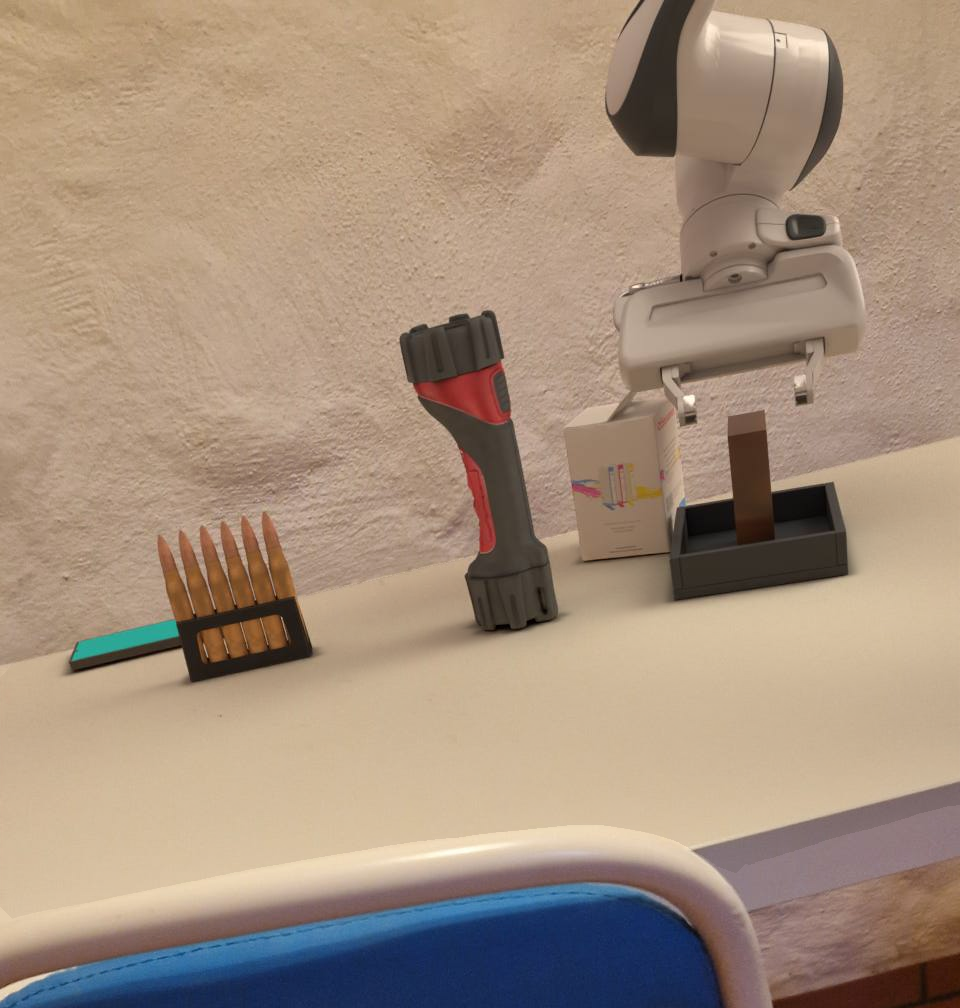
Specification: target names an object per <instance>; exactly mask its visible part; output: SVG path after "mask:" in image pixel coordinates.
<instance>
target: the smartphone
mask: <svg viewBox="0 0 960 1008" xmlns="http://www.w3.org/2000/svg"><path fill="white" fill-rule="evenodd" d="M220 630H221V633H222V636H223V632H222V629H221V627H220ZM199 633H200V636H201V639H202V641H203V638H202V635H201V631H200V632H199ZM178 646H182V645H181V641H180V637H179V633H178V630H177V626H176V621H175V618H173V619H169V620H164V621H161V622H156V623H152V624H147V625H143V626H139V627H135V628H130V629H126V630H121V631H118V632H113V633H109V634H104V635H101V636H96V637H91V638H88V639H84V640H79V641H77V642H76V643H75V644H74V648H73V650H72V652H71V655H70V658H69V660H68V664H69V667H70V669H71V671H75V670H80V669H83V668H89V667H93V666H96V665H101V664H105V663H109V662H113V661H119V660H123V659H126V658H131V657H135V656H141V655H144V654H148V653H152V652H158V651H162V650H166V649H170V648H174V647H178Z"/></svg>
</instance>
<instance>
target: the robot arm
mask: <svg viewBox="0 0 960 1008" xmlns="http://www.w3.org/2000/svg"><path fill="white" fill-rule="evenodd" d="M717 2H718V0H638V2H637V4H636V5H635V7H634V9H633V10H632V11H631V13H630V14H629V16H628V18H627V19H626V21H625V22H624V25H622V26H623V27H622V29H621V31H620V33H619V35H618V38H617V40H616V42H615V45H614V48H613V51H612V54H611V57H610V60H609V63H608V67H607V76H606V84H605V94H604V105H605V106H604V108H605V112H606V115H607V117H608V120H609V121H610V124H611V125H612V127H613V129H614V130H615V132H616V133H617V135H618V137H619V138H621V141H622V142H623V143H624V144H625V145H626V146H627V148H628V149H629V150H630V151H631V152H632V153H633V154H634V155H635V156H636V157H651V158H652V157H653V158H655V157H656V158H675V159H674V161H675V163H674V166H675V167H674V171H675V172H674V175H675V177H674V178H675V179H674V180H675V197H676V205H677V209H678V211H679V214H680V216H681V218H682V219H681V220H682V222H681V226H680V231H679V240H678V242H679V252H680V254H679V256H680V269H681V273H680V274H677V275H676V274H675V275H671V276H667V277H663V278H659V279H656V280H653V281H650V282H637V283H634V284H632V285H629V287H628V290H626V291H624V292H621V294H619V296H618V297H617V298H616V299H615V300H614V302H613V307H612V314H613V315H612V316H613V326H614V328H615V330H616V331H617V332H618V344H617V345H618V346H617V347H618V348H617V351H618V352H617V357H618V367H619V373H620V376H621V381H622V384H623V386H625V387H626V388H627V389H628V390H629V391H632V392H637V393H641V392H642V393H643V392H646V391H651V390H652V391H653V390H659V389H662V388H663V391H664V396H666V398H667V399H668V400H669V401H670V402H671V403H672V405H673V406H674V407H675V410H676V411H677V416H678V422H679V427H680V428H683V427H687V426H693V425H697V424H698V412H697V411H698V409H697V402H696V395H695V394H688V395H685V394H684V392H683V391H682V385H685V384H691V383H695V382H701V381H706V380H711V379H717V378H724V377H727V376H733V375H738V374H744V373H750V372H754V371H759V370H765V369H772V368H775V367H782V366H787V365H794V364H799V363H805V364H806V365H805V366H806V368H805V369H804V372H803V373H802V374H798V375H794V376H793V393H794V405H795V407H801V406H806V405H811V404H812V405H813V404H814V402H815V401H814V386H815V384H816V382H817V381H818V379H819V377H820V375H821V373H822V371H823V370H824V368H825V359H826V358H831V357H836V356H837V357H838V356H841V355H848V354H853V353H855V352H857V351H858V350H859V349H860V348H861V346H862V345H863V343H864V342H865V340H866V338H867V309H866V302H865V295H864V291H863V287H862V282H861V278H860V275H859V271H858V267H857V265H856V262H855V260H854V257H853V256H852V255H851V254H850V252H848V250H847V249H845V248H844V246H843V245H844V243H843V235H842V228H841V223H840V219H839V218H838V216H835V215H833V214H827V213H812V212H800V211H792V210H786V209H782V200H783V198H784V195H785V193H786V192H791V191H792V190H794V189H795V188H796V187H797V186H799V185H800V184H801V183H802V182H803V181H804V180H805V178H806V177H807V176H808V175H809V174H810V173H811V172H812V171H813V170H814V169H815V168H816V166H817V165H818V164H819V163H820V162H821V161H822V160H823V158H824V157H825V155H826V154H827V153H828V151H829V149H830V148H831V146H832V144H833V142H834V140H835V137H836V135H837V132H838V131H839V127H840V123H841V118H842V113H843V107H844V106H843V105H844V76H843V69H842V66H841V61H840V58H839V53H838V51H837V47H836V46H835V44H834V42H833V40H832V38H831V37H830V36H829V34H828V33H827V31H826V30H825V29H823V28H817V27H813V26H810V25H806V24H800V23H796V22H790V21H784V20H777V19H771V18H759V17H753V16H747V15H741V14H736V13H729V12H724V11H718V10H714V8H715V6H716V4H717Z"/></svg>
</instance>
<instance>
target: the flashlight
mask: <svg viewBox="0 0 960 1008" xmlns="http://www.w3.org/2000/svg"><path fill="white" fill-rule="evenodd" d="M398 341H399V346H400V352H401V356H402V361H403V366H404V370H405V374H406V380H407V382H408V383H410V384H412V387H413V389H414V392H415V393H416V394H417V400H418V402H419V403H420V404H421V407H423V409H424V410H425V411H426V412H427V413H428V414H429V415H430V416H431V417H432V418H433V419H434V420H436V421H437V422H438V423H439V424H440V425H442V426H443V427H444V428H445V429H446V430H447V431H448V433H449V434H450V435H451V437H452V438H453V440H454V441H455V443H456V445H457V448H458V450H459V454H460V456H461V462H462V463H463V466H464V469H465V473H466V482H467V487H468V488H469V490H470V491H471V494H472V497H473V503H472V507H473V509H474V511H475V513H476V516H477V518H478V520H479V521H478V526H479V533H478V534H479V537H478V541H479V547H478V553H477V555H476V557H475V558H474V559H473V560H472V561H471V562H470V563H469V564H468V567H467V572H466V573H464V579H465V583H466V587H467V591H468V594H469V598H470V603H471V606H472V610H473V615H474V619H475V623H477V624H478V625H480V627H481V628H482V629H483V630H485V631H495V630H496V629H497V625H509V626H510V628H511V629H512V630H517V629H522V628H525V627H527V622H528V621H530V620H533V619H534V620H535V622H536V623H541V622H547V621H551V620H554V618H556V617H557V616H558V614H559V608H558V607H559V606H558V601H557V597H556V591H555V585H554V578H553V572H552V567H551V566H552V565H551V561H550V556H549V550H548V547H547V546H546V544H544V543H543V542H542V541H541V540H539V539H538V537H536V533H535V528H534V523H533V517H532V513H531V507H530V502H529V496H528V491H527V485H526V480H525V475H524V469H523V465H522V460H521V459H522V458H521V454H520V453H521V452H520V449H519V445H518V439H517V434H516V430H515V424H514V421H513V419H512V418H511V417H512V406H511V405H512V402H511V396H510V394H509V393H510V392H509V386H508V381H507V376H506V373H505V369H504V367H503V363H502V360H503V359H504V360H505V353H504V348H503V344H502V338H501V333H500V328H499V323H498V320H497V316H496V313H495V312H494V311H493V310H489V309H485V310H482V311H481V313H480V314H479V315H476V316H474V317H470V315H469V314H468V313H466V312H463V313H459V314H455V315H450V316H449V317H448V322H446V323H443V324H438V325H434V326H432V327H429V326H428V324H427V323H421V324H418V325H415V326H413V327H411V328H410V329H409V330H408V332H407V331H405V332H403V333H401V334H400V336H399V340H398Z"/></svg>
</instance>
